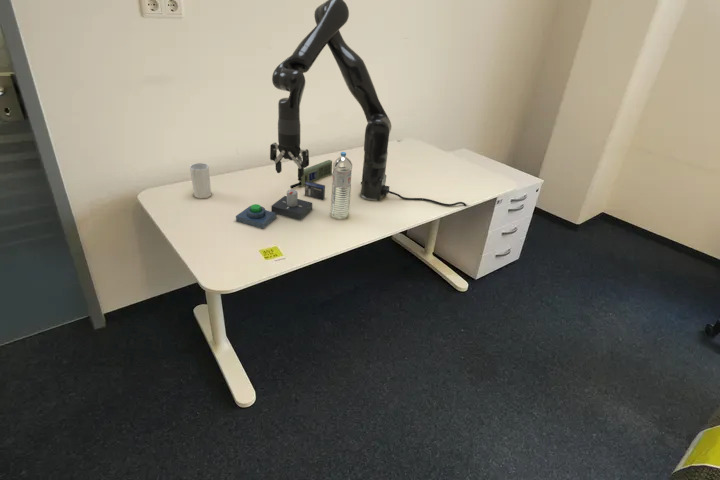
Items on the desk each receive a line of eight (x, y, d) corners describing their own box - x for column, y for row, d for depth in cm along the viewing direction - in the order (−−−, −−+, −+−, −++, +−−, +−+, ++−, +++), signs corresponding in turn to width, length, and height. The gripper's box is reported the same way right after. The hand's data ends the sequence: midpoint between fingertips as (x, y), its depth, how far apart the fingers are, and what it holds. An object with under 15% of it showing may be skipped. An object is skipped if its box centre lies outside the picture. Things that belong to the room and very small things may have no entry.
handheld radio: (333, 175, 194) (294, 191, 176) (327, 173, 196) (288, 189, 178) (333, 161, 191) (293, 176, 173) (327, 159, 192) (287, 174, 175)
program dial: (289, 200, 162) (289, 188, 160) (299, 203, 161) (299, 190, 159) (285, 205, 159) (284, 192, 156) (294, 207, 158) (294, 194, 155)
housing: (276, 218, 156) (276, 208, 154) (262, 229, 149) (262, 219, 147) (250, 210, 159) (249, 201, 157) (236, 221, 152) (235, 211, 150)
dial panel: (312, 209, 164) (312, 202, 163) (300, 220, 156) (300, 213, 155) (284, 202, 167) (284, 195, 166) (271, 212, 159) (271, 205, 158)
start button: (263, 209, 153) (262, 205, 152) (257, 214, 150) (257, 209, 150) (254, 207, 154) (254, 203, 153) (248, 211, 151) (248, 207, 150)
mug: (215, 195, 167) (212, 167, 161) (199, 200, 163) (195, 171, 157) (202, 186, 173) (198, 159, 167) (186, 191, 169) (182, 162, 162)
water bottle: (341, 221, 158) (346, 157, 145) (326, 215, 161) (329, 152, 148) (351, 214, 163) (356, 152, 150) (337, 209, 166) (340, 147, 153)
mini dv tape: (304, 195, 174) (305, 182, 171) (306, 194, 175) (306, 180, 172) (322, 200, 172) (323, 186, 169) (324, 198, 173) (325, 185, 170)
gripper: (313, 131, 146) (312, 175, 154) (276, 123, 149) (277, 167, 158) (302, 137, 140) (302, 182, 148) (265, 129, 143) (266, 174, 152)
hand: (289, 174), depth 153 cm, fingers open, 8 cm apart
